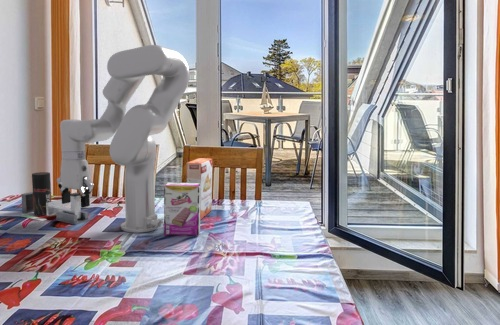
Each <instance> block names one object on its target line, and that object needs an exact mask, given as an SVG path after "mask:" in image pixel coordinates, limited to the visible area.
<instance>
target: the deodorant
mask: <svg viewBox="0 0 500 325" xmlns="http://www.w3.org/2000/svg"><path fill="white" fill-rule="evenodd" d="M31 180H32V181H31V182H32V183H31V184H32V192H33V204H34V212H33V216H36V217H38V216H40V217H43V216H47V211H46V203H47V202H51V201H52V189H51V188H52V187H51V186H52V185H51V172H46V171H41V172H39V171H38V172H34V173H32V174H31Z"/></svg>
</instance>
